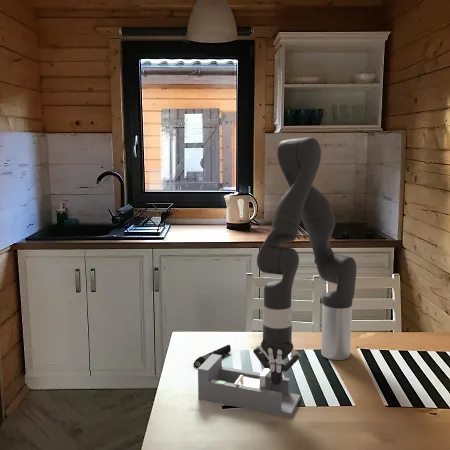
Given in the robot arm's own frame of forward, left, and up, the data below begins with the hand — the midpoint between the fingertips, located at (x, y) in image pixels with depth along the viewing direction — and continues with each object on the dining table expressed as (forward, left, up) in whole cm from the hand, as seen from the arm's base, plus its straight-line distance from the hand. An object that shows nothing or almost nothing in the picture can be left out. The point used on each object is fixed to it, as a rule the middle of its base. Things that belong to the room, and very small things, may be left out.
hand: (276, 383), depth 142 cm
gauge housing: (0, -8, -6) cm, 10 cm away
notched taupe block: (0, -6, -5) cm, 7 cm away
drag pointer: (+1, -10, -5) cm, 11 cm away
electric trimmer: (-19, -27, -7) cm, 34 cm away
